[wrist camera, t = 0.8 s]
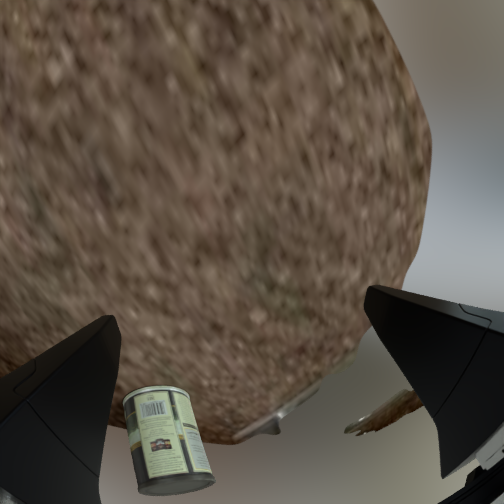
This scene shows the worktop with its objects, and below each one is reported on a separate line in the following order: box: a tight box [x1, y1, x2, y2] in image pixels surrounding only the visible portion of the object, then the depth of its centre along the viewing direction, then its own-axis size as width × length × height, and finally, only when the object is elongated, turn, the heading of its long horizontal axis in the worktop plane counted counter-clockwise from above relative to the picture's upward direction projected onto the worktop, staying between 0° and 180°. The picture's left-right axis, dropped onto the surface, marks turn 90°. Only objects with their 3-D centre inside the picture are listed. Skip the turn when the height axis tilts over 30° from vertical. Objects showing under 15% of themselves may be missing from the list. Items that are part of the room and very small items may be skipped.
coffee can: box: [123, 386, 216, 496], centre depth 34 cm, size 10×10×14 cm
